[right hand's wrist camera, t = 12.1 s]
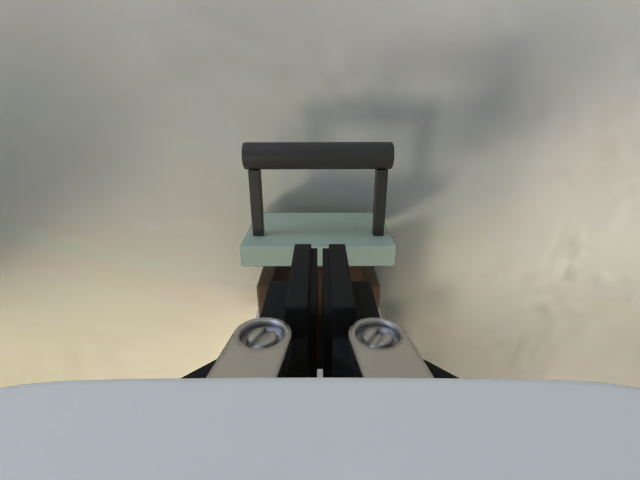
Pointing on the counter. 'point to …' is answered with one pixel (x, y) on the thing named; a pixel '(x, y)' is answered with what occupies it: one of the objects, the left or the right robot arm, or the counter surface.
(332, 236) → the drawer
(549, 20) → the counter surface
